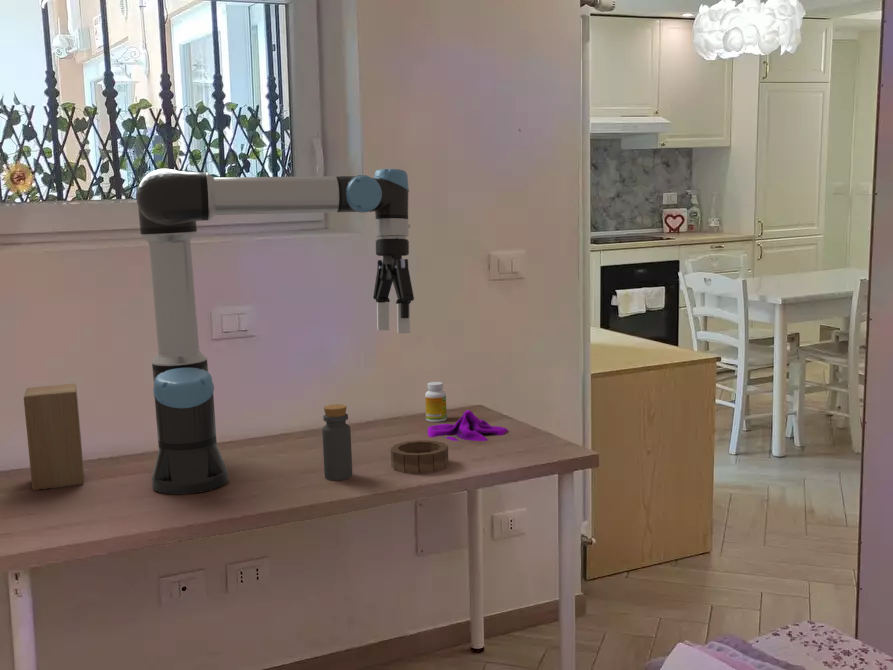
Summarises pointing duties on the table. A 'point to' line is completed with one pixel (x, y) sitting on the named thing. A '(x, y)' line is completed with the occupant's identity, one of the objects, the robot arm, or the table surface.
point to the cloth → (466, 429)
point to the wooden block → (54, 436)
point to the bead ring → (419, 456)
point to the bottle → (336, 443)
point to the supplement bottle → (435, 402)
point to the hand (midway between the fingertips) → (393, 331)
